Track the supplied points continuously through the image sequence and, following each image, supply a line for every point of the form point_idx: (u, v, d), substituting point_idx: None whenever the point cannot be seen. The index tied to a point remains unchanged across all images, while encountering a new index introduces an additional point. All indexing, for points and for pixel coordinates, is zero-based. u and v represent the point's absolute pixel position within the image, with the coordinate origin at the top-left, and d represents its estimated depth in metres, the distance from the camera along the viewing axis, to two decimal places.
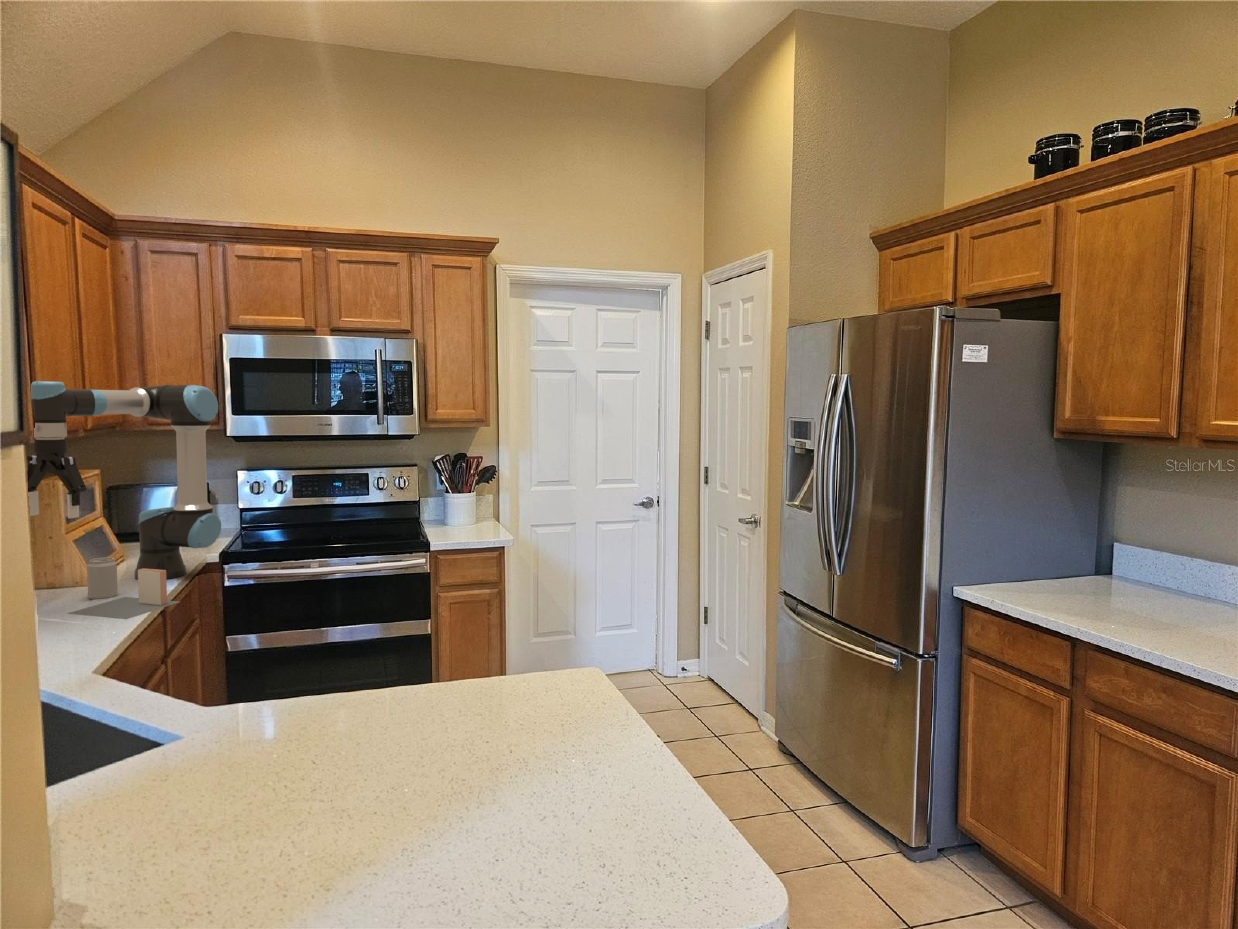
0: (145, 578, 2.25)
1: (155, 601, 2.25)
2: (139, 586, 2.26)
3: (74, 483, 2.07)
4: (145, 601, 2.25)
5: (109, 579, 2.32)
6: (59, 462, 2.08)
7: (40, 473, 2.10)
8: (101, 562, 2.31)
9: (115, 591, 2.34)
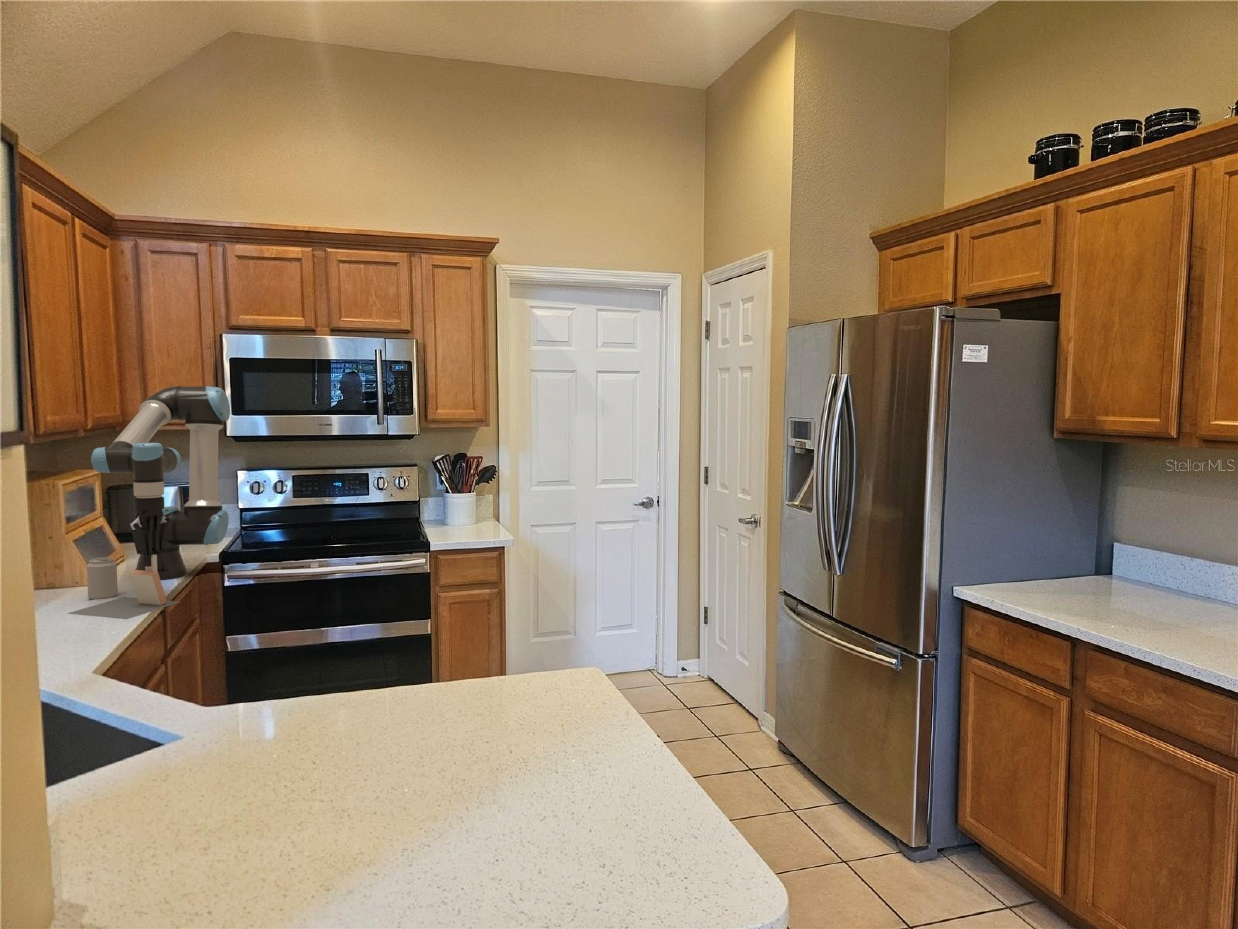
0: (139, 581, 2.23)
1: (154, 602, 2.24)
2: (135, 588, 2.24)
3: None
4: (145, 601, 2.25)
5: (109, 579, 2.32)
6: None
7: None
8: (101, 562, 2.31)
9: (115, 591, 2.34)
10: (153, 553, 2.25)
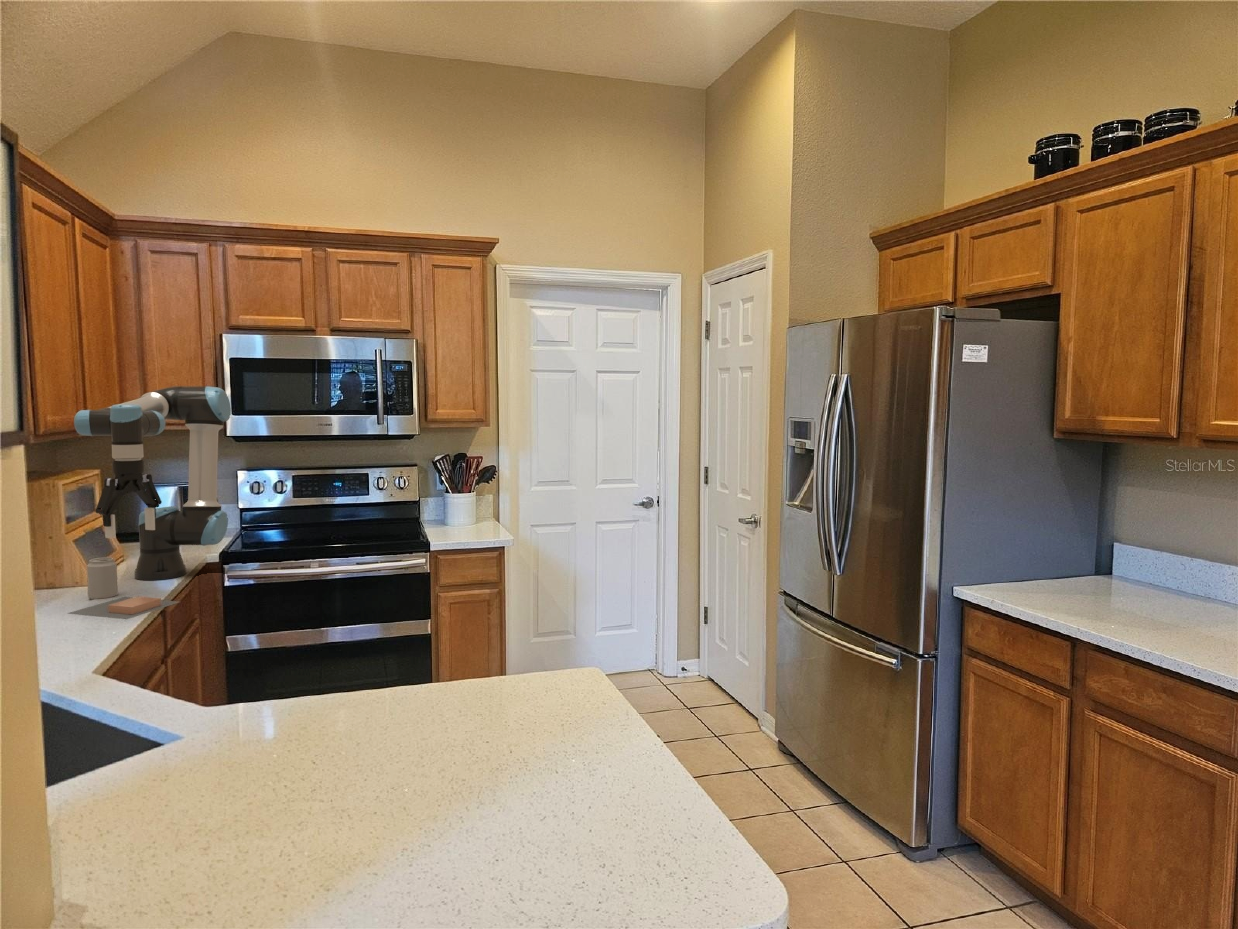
0: None
1: None
2: None
3: None
4: None
5: (109, 579, 2.32)
6: None
7: (137, 491, 2.22)
8: (101, 562, 2.31)
9: (115, 591, 2.34)
10: (152, 507, 2.27)
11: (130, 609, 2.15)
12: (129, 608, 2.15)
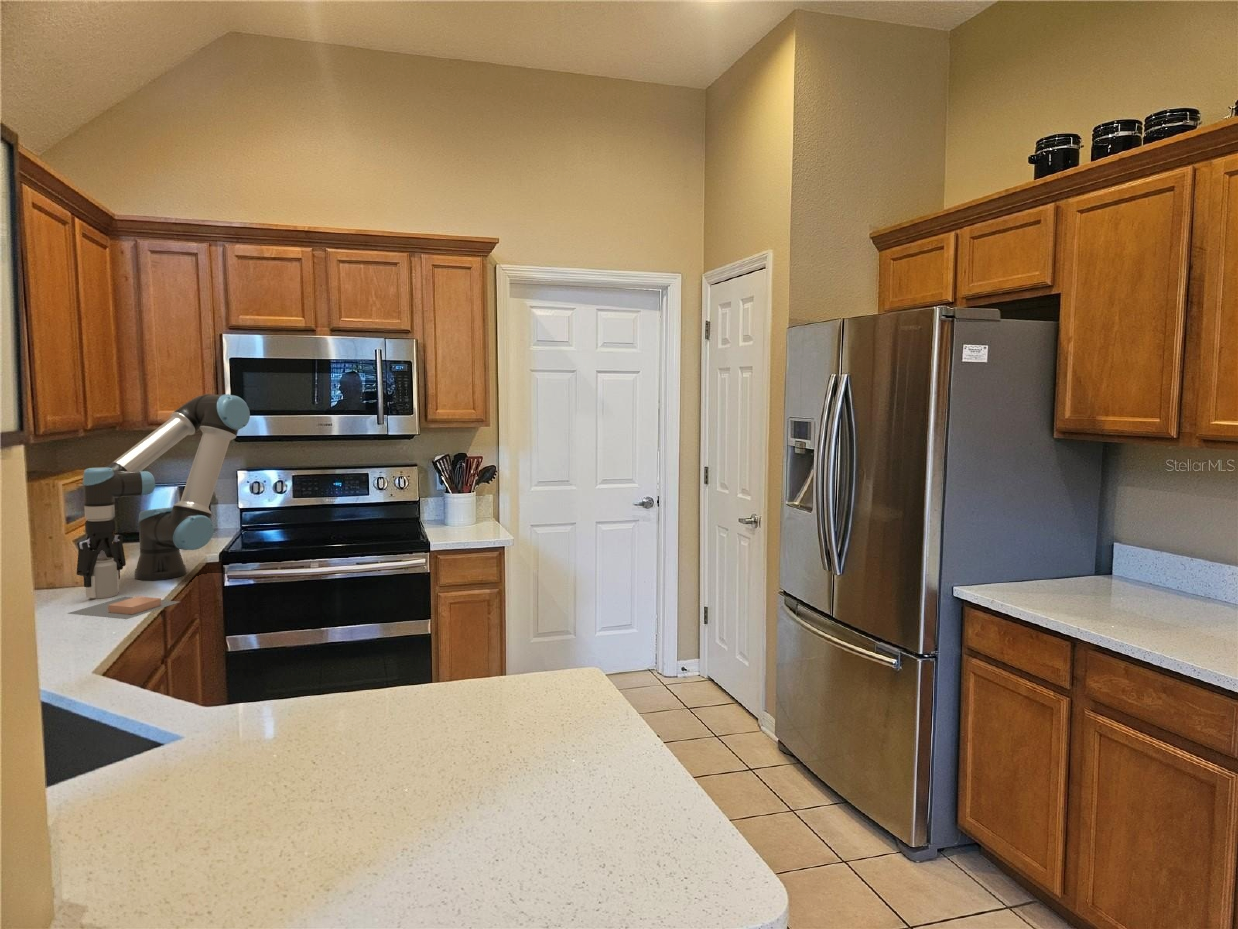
0: None
1: None
2: None
3: None
4: None
5: (109, 579, 2.32)
6: None
7: (105, 550, 2.35)
8: (101, 562, 2.31)
9: (114, 591, 2.34)
10: None
11: (130, 609, 2.15)
12: (129, 608, 2.15)
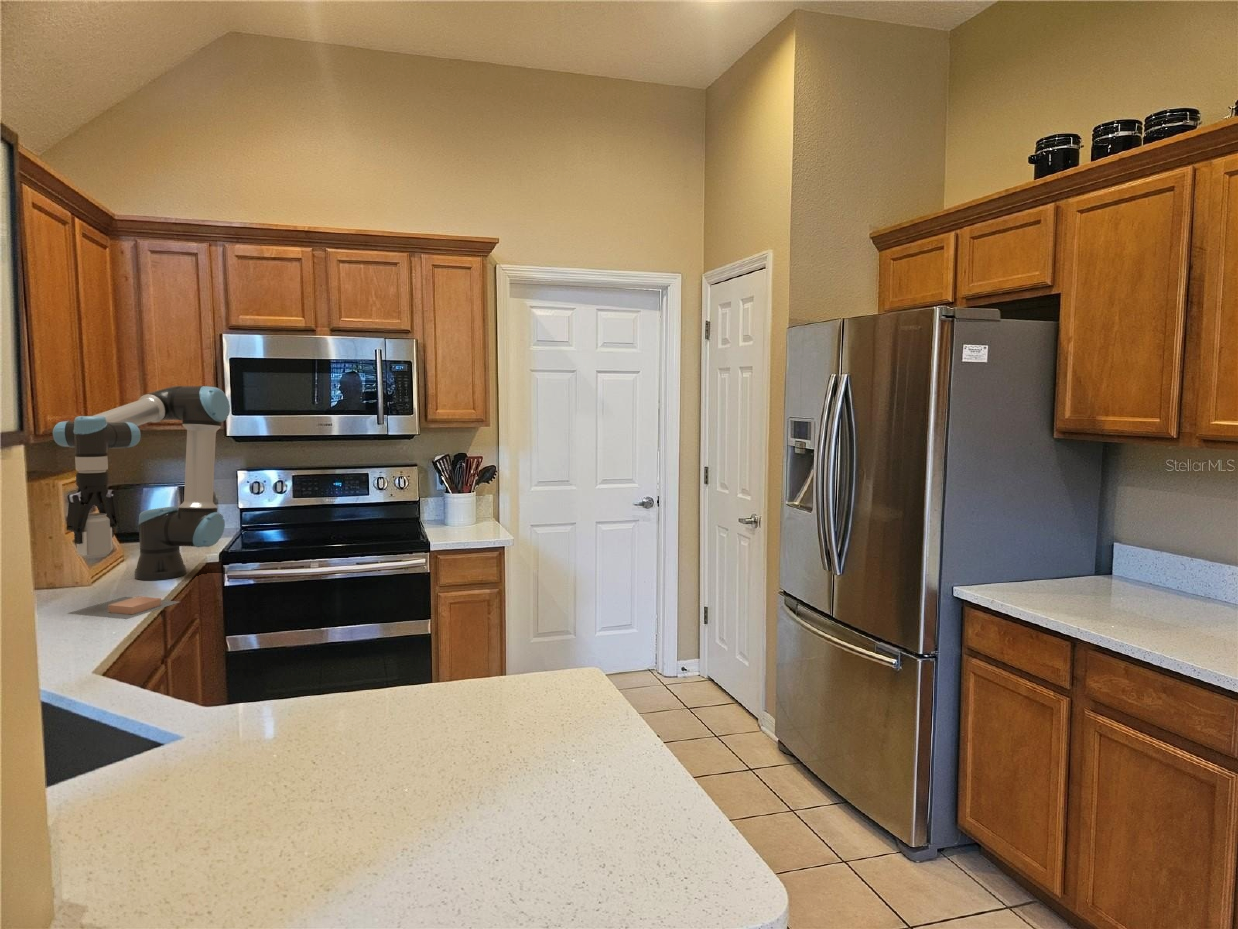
0: None
1: None
2: None
3: None
4: None
5: (101, 535, 2.16)
6: None
7: (98, 505, 2.19)
8: (93, 517, 2.15)
9: (108, 548, 2.18)
10: None
11: (130, 609, 2.15)
12: (129, 608, 2.15)
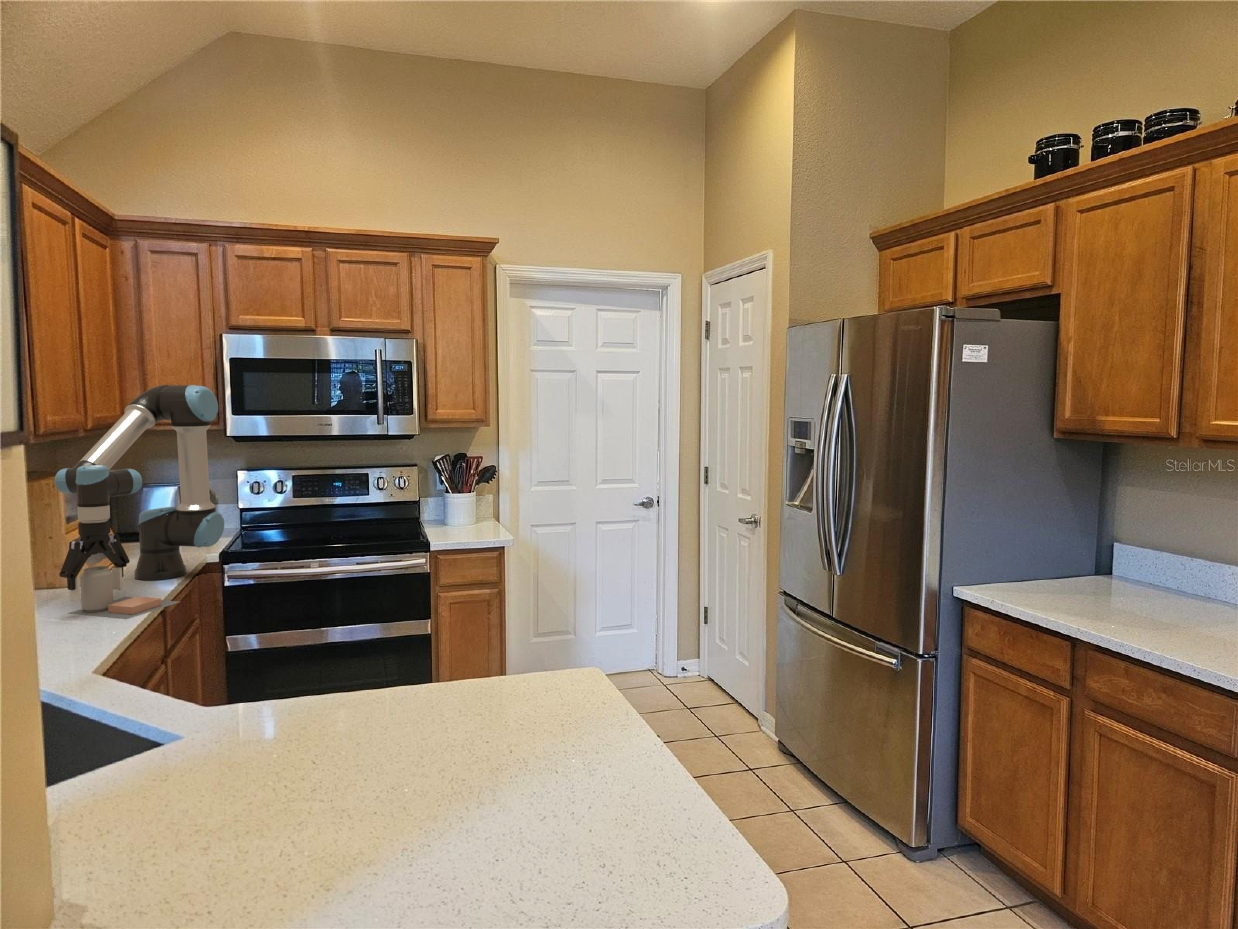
0: None
1: None
2: None
3: None
4: None
5: (104, 589, 2.17)
6: None
7: (103, 552, 2.21)
8: (95, 571, 2.16)
9: (110, 602, 2.19)
10: None
11: (130, 609, 2.15)
12: (129, 608, 2.15)
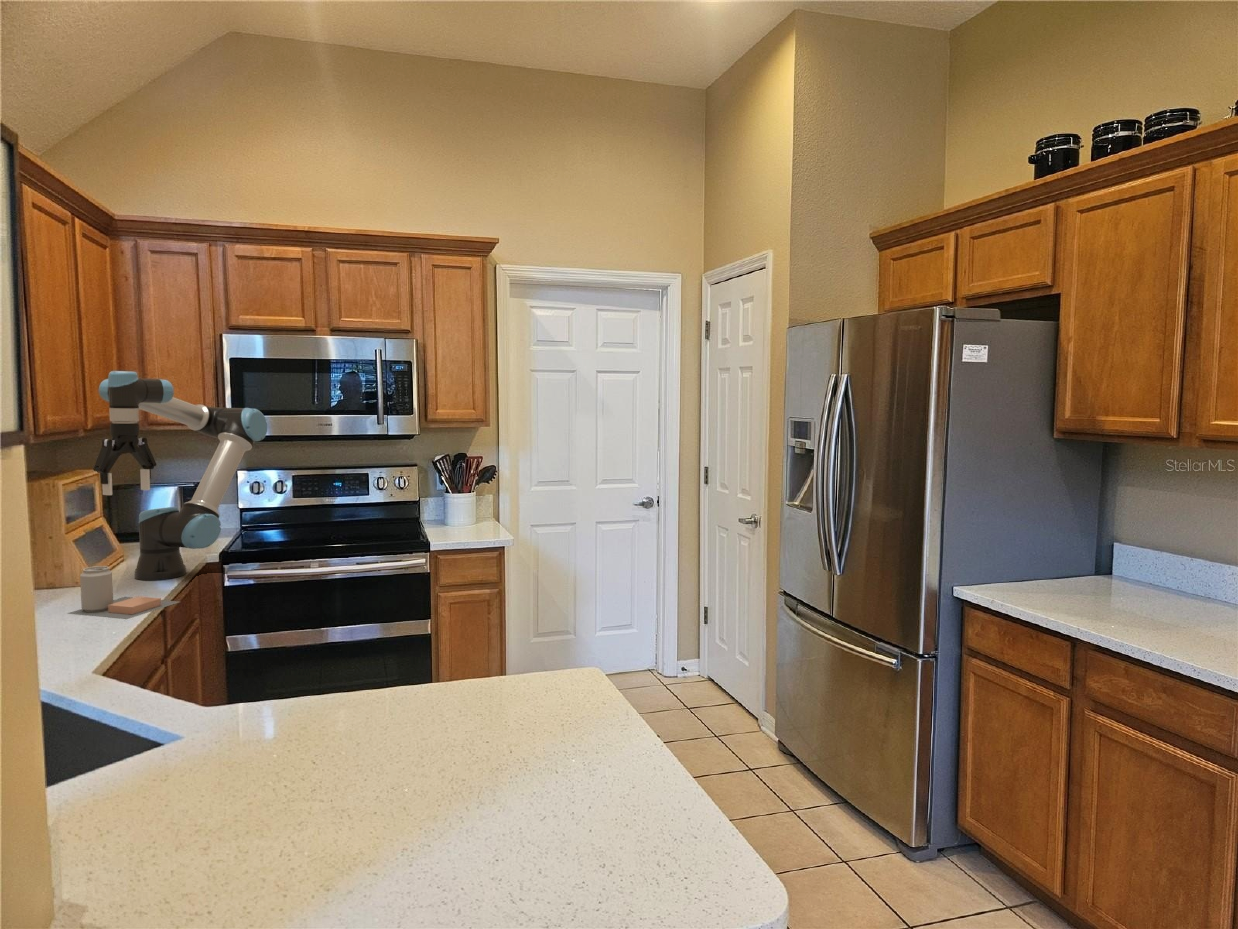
0: None
1: None
2: None
3: None
4: None
5: (104, 589, 2.17)
6: None
7: (133, 453, 2.37)
8: (95, 571, 2.16)
9: (110, 602, 2.19)
10: None
11: (130, 609, 2.15)
12: (129, 608, 2.15)
